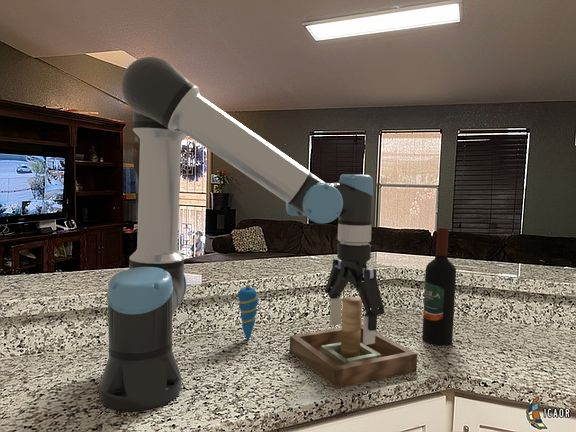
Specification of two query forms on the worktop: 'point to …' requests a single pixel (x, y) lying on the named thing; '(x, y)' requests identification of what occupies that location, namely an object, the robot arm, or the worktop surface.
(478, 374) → the worktop surface
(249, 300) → the ornament
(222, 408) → the worktop surface
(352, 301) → the peg
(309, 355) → the box
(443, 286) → the wine bottle
